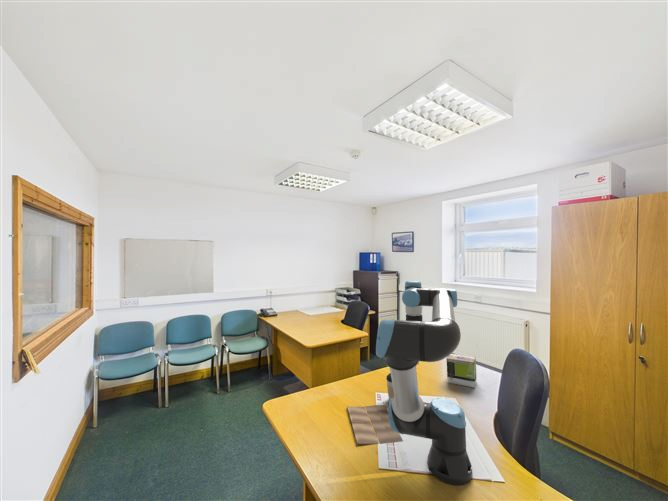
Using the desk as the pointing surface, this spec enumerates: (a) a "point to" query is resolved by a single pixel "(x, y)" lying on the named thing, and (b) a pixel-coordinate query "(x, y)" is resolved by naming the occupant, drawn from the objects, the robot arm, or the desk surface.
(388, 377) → the coffee cup
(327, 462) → the desk surface
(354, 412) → the plank far
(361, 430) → the plank near
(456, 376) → the tea box
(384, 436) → the laid board
